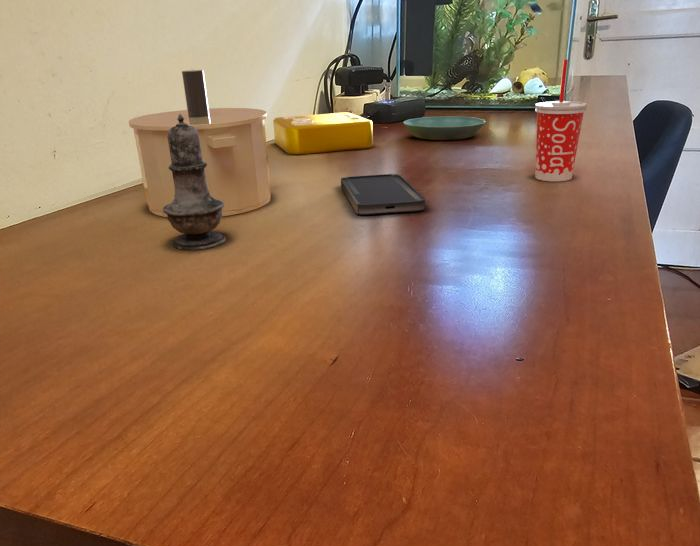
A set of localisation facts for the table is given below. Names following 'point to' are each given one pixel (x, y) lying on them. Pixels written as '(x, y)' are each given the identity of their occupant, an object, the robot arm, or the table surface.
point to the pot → (211, 167)
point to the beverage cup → (557, 136)
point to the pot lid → (198, 110)
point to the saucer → (444, 127)
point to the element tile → (323, 133)
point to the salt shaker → (191, 192)
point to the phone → (381, 194)
